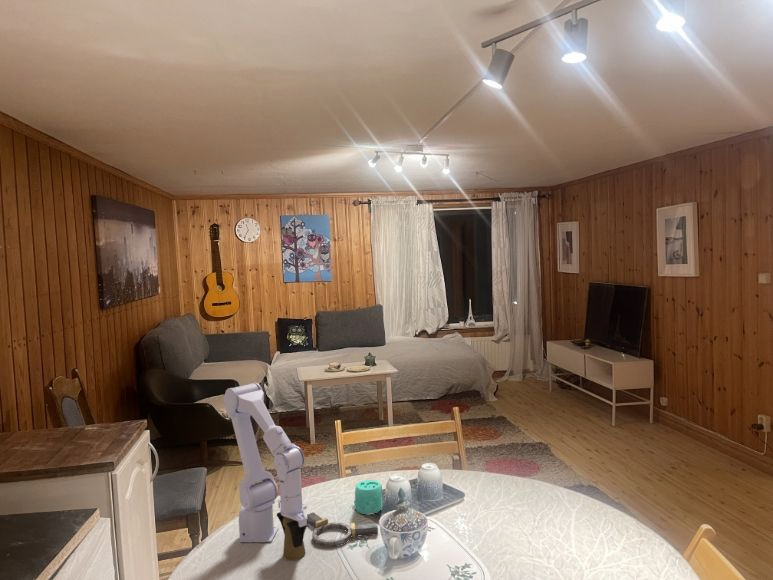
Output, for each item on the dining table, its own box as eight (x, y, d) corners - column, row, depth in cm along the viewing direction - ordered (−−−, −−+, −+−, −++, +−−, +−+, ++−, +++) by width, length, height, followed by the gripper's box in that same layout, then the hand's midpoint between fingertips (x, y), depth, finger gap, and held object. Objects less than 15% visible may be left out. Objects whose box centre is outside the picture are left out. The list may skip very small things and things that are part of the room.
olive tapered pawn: (301, 560, 149) (298, 520, 148) (279, 559, 150) (277, 519, 149) (308, 548, 155) (306, 510, 154) (288, 547, 156) (285, 509, 155)
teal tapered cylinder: (358, 504, 181) (356, 479, 181) (382, 503, 181) (381, 479, 180) (355, 515, 173) (354, 490, 173) (381, 515, 173) (380, 489, 173)
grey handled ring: (296, 547, 156) (296, 538, 156) (308, 519, 172) (308, 511, 172) (376, 546, 155) (375, 537, 154) (380, 518, 171) (380, 510, 170)
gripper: (316, 498, 148) (318, 548, 148) (293, 480, 160) (296, 527, 161) (291, 506, 144) (294, 557, 145) (270, 487, 156) (273, 534, 157)
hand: (293, 541), depth 152 cm, fingers closed on olive tapered pawn, 5 cm apart
